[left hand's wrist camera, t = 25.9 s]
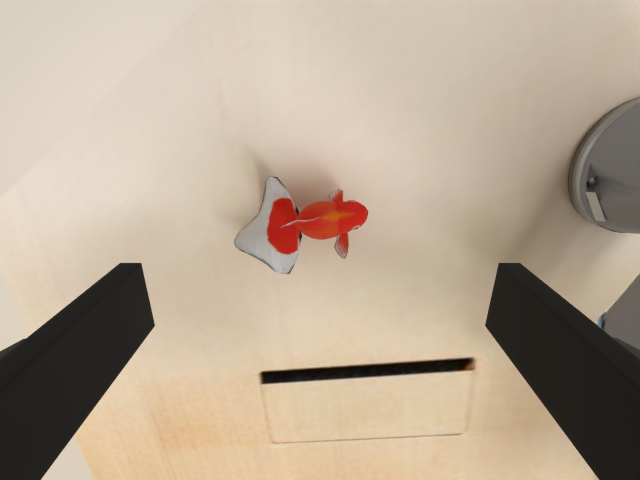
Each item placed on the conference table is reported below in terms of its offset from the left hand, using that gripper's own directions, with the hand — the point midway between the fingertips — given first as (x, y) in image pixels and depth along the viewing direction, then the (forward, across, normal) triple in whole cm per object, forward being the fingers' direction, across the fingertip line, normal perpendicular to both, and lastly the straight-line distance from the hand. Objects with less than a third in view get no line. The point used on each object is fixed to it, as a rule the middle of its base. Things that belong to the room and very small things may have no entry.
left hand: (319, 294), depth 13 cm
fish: (+29, -3, -6) cm, 30 cm away
